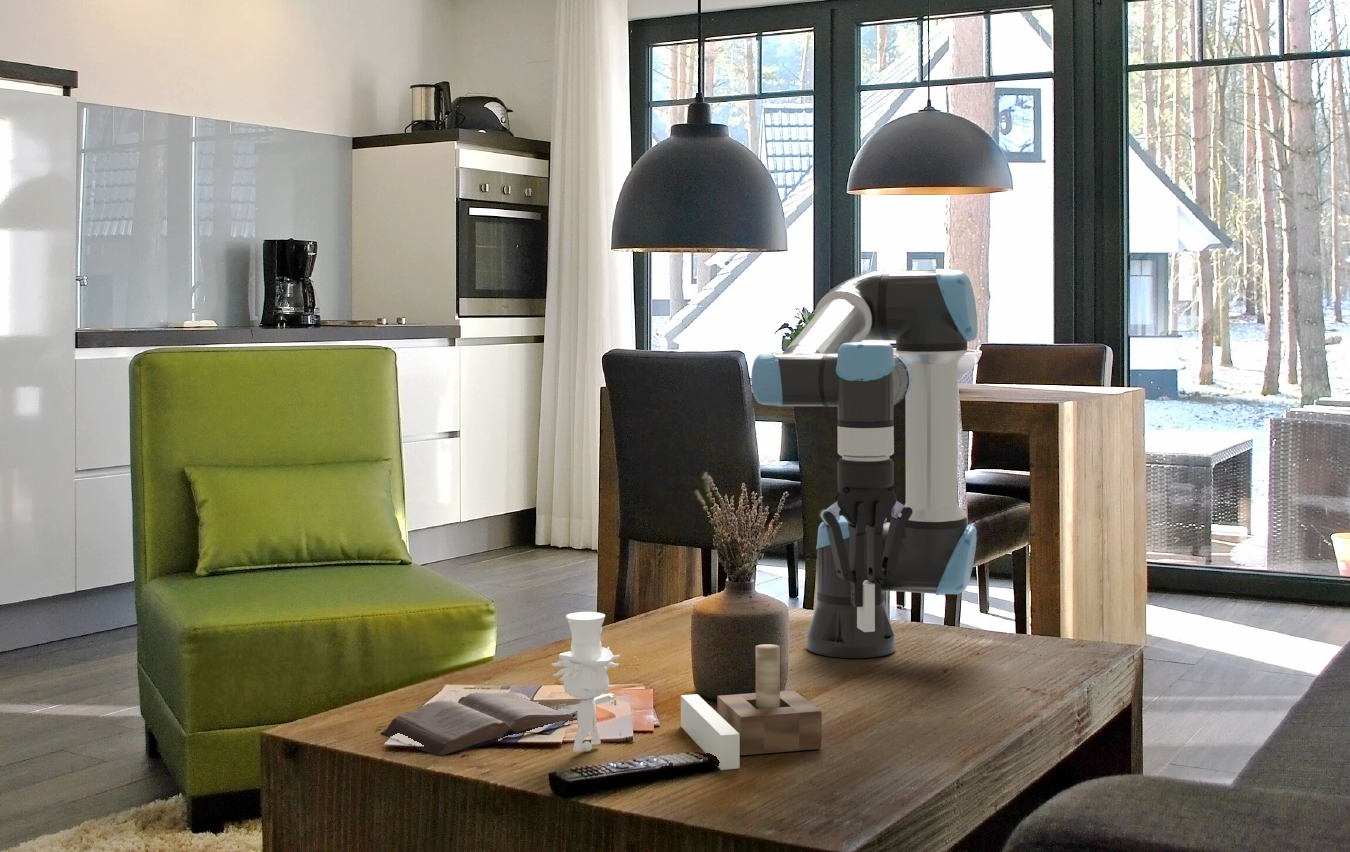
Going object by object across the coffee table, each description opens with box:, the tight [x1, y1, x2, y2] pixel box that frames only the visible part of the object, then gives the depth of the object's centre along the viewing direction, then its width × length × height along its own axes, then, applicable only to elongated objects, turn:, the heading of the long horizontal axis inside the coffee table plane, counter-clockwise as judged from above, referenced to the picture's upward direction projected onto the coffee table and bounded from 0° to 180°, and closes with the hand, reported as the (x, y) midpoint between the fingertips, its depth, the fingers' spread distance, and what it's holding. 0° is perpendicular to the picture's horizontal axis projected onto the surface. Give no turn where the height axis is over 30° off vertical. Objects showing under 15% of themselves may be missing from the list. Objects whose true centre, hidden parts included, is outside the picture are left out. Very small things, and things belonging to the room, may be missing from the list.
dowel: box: [755, 643, 781, 709], centre depth 187 cm, size 3×3×12 cm
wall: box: [680, 693, 741, 771], centre depth 186 cm, size 20×2×4 cm, turn 14°
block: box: [716, 689, 823, 756], centre depth 188 cm, size 11×11×5 cm
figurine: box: [550, 611, 621, 753], centre depth 183 cm, size 10×8×18 cm
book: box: [374, 692, 575, 756], centre depth 196 cm, size 20×28×4 cm
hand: (865, 629), depth 191 cm, fingers closed
